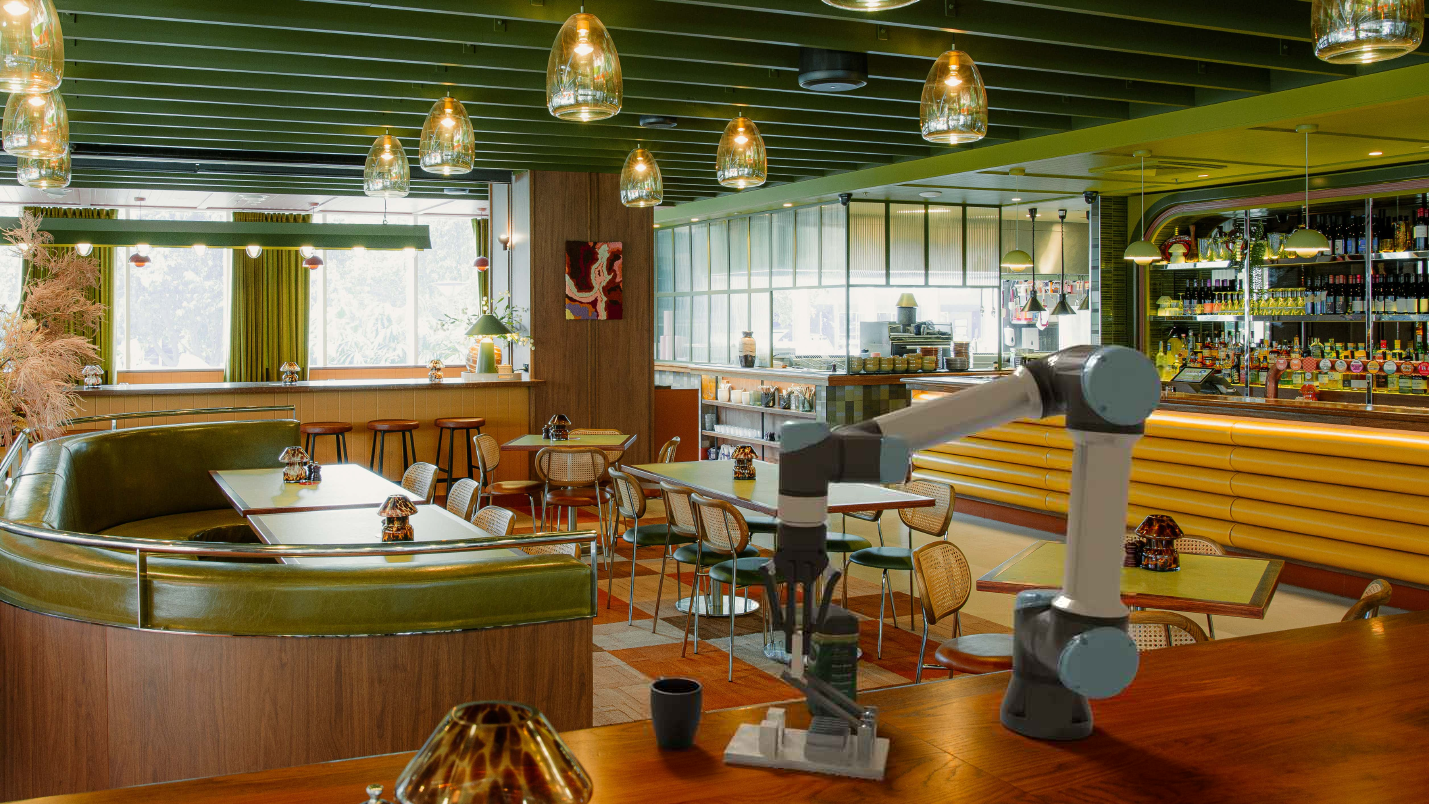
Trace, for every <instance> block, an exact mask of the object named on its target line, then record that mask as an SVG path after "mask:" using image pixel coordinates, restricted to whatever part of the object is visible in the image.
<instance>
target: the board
mask: <svg viewBox="0 0 1429 804" xmlns="http://www.w3.org/2000/svg"><path fill="white" fill-rule="evenodd" d="M863 708H864V709H866V710H868V709H871V710H873V711H874V712H875V714H866V713H862V717H861V718H859V721H861V722H862V723H865V722H867V723H869V724H870V725H871V727H872V729H871V728H867V727H858V730H857V735H855V734H851V732H852V731H851V729H852V728H850V725H849V724H848V723H846V722H845V721H843V720H842V719H837V718H827V717H817V716H814V715H813V718H812V720H811V722H810V724H809V726H808V729H807V730H806V729H796V728H790V727H789V728H787V727H786V726H785V725H786V708H778V707H772V706H770V707H769V709H768V710H767V711H766V719H763V720H762V721H761V723H760V724H752V723H740V725H739V727H738V728H737V730H736V732H735V734H734V736H733V737H732V738H731V740H730V742H729V743H728V745H727V747H726V749H725V750H724V752H723V763H727V764H736V765H737V764H738V765H744V766H754V767H762V766H763V767H762V768H769V767H773V768H772V769H778V768H786V769H785V770H787V769H795V770H805V771H811V772H810V773H813V772H821V773H826V774H825V775H830V774H835V775H834V776H839V775H841V776H840V777H847V776H850V777H849V778H856V777H858V778H859V779H865V778H866V779H867V780H873V779H876V780H875V781H884V775H885V770H886V765H887V761H888V756H889V751H890V738H884V737H877V720H878V719H877V717H878V707H877V706H871V705H864V706H863ZM795 770H794V771H795ZM821 773H820V774H821Z"/></svg>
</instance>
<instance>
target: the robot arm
mask: <svg viewBox="0 0 1429 804" xmlns="http://www.w3.org/2000/svg"><path fill="white" fill-rule="evenodd" d="M1161 379H1162V378H1161V376H1160V373H1159V370H1158V369H1157V367H1156V365H1155V364H1154V363H1153V362H1152V360H1151V359H1150V358H1149V357H1148V356H1147V355H1146V354H1144V353H1143V352H1142V351H1140V350H1137V349H1135V348H1130V347H1127V346H1124V345H1118V344H1104V345H1101V344H1099V345H1098V344H1095V345H1093V344H1092V345H1091V344H1078V345H1073V346H1072V345H1071V346H1069V347H1066V348H1063V349H1060V350H1058V351H1055V352H1053V353H1052V352H1051V353H1050V354H1048V355H1045V356H1042V357H1040V358H1037V359H1034V360H1032V361H1029V362H1027V363H1023V364H1020V365H1017V366H1016V367H1015V368H1014V369H1013V372H1012V374H1011V373H1010V374H1008V375H1004V376H1001V377H998V378H996V379H993V380H989V381H987V382H983V383H980V384H976V385H974V386H971V387H967V388H965V389H961V390H958V391H955V392H951V393H948V394H945V395H942V396H939V397H936V398H932V399H929V400H925V401H923V402H921V403H920V402H919V403H917V404H914V405H911V406H908V407H904V408H901V409H898V410H895V411H892V412H889V413H885V414H882V415H879V416H877V417H876V416H875V417H872V418H871V419H866V420H864V421H860V422H857V423H854V424H846V423H845V424H840V425H837V426H834V427H832V428H831V425H830V422H828V421H826V420H821V419H804V418H802V419H801V418H800V419H788V420H785V421H784V422H783V423H782V425H781V427H780V438H779V446H778V447H779V448H778V489H777V490H778V493H777V515H776V516H777V519H779V520H780V521H779V522H778V523H777V525H776V528H777V529H776V549H775V552H774V554H773V556H772V559H771V560H769V561H767V562H763V563H762V564H761V565H760V566H759V567H758V570H757V571H758V573H759V575H760V576H761V578H762V579H763V581H764V585H765V590H766V595H767V599H768V605H769V610H770V614H771V618H772V622H773V623H772V624H773V627H774V628H775V629H776V630H777V629H778V630H781V631H783V632H784V634H785V638H784V639H785V642H784V645H785V646H784V648H785V649H784V651H785V654H786V655H787V654H788V655H791V659H792V668H791V669H790V670H791V673H790V674H791V677H793V678H797V679H802V678H803V677H802V675H803V673H804V668H805V656H809V654H810V652H811V643H812V634H813V633H815V632H821V630H822V629H823V627H824V624H825V621H826V617H827V613H828V610H829V606H830V605H831V603H832V598H833V596H834V592H835V589H836V585H837V584H838V582H839V581H840V579H841V578H842V576H843V575H844V571H843V569H842V568H838V567H836V566H834V565H833V564H831V563H830V558H829V557H830V556H829V555H828V553H827V540H828V539H827V536H828V535H827V533H828V527H827V525H826V523H825V522H826V521H827V520H828V504H829V503H828V500H829V498H828V497H829V493H828V492H829V484H862V485H863V484H864V485H865V484H869V485H871V484H872V485H881V486H884V485H887V484H888V485H893V484H902V483H903V482H904V481H905V479H907V476H908V473H909V469H910V455H912V454H916V453H919V452H921V451H922V452H923V451H924V450H928V449H931V448H934V447H937V446H941V445H944V444H947V443H950V442H953V441H956V440H960V439H964V438H966V437H968V436H972V435H976V434H979V433H982V432H984V431H988V430H991V429H994V428H997V427H1001V426H1005V425H1007V424H1010V423H1014V422H1017V421H1019V420H1024V419H1026V418H1027V419H1029V420H1031V421H1034V422H1036V421H1041V420H1043V419H1047V418H1050V417H1056V416H1058V417H1059V416H1065V421H1064V422H1065V423H1064V430H1065V432H1066V433H1067V434H1068V435H1069V436H1070V437H1071V439H1072V440H1073V452H1072V464H1071V477H1070V489H1069V491H1070V492H1069V503H1068V514H1067V515H1068V517H1067V530H1066V542H1065V554H1064V568H1063V569H1064V570H1063V581H1062V589H1047V588H1045V589H1037V588H1035V589H1027V590H1022V591H1020V592H1018V593H1017V595H1016V597H1015V601H1014V603H1015V604H1014V608H1013V615H1014V616H1013V639H1012V641H1013V642H1012V643H1013V646H1012V647H1013V648H1012V672H1011V678H1010V681H1009V684H1008V686H1007V689H1006V691H1005V694H1004V696H1003V699H1002V701H1001V704H1000V710H999V711H1000V712H999V721H1000V723H1001V724H1002V725H1003V726H1004V727H1006V728H1007V729H1009V730H1011V731H1013V732H1015V733H1018V734H1022V735H1025V736H1027V737H1031V738H1036V739H1042V740H1048V741H1049V740H1050V741H1072V740H1074V741H1075V740H1080V739H1084V738H1086V737H1089V736H1090V735H1091V734H1092V733H1093V730H1094V729H1093V728H1094V717H1093V716H1094V715H1093V713H1092V709H1091V705H1090V702H1089V699H1094V700H1095V699H1096V700H1097V699H1098V700H1099V699H1106V698H1110V697H1113V696H1116V695H1118V694H1119V693H1121V691H1123V690H1124V689H1125V688H1127V687H1129V685H1130V684H1131V683H1132V682H1133V680H1134V678H1135V676H1136V675H1137V672H1138V669H1139V667H1140V665H1139V664H1140V653H1139V648H1138V646H1137V645H1136V643H1135V641H1134V639H1133V638H1132V637H1131V636H1130V634H1129V625H1130V609H1129V608H1128V607H1127V606H1126V605H1125V603H1124V602H1123V601H1122V599H1121V590H1122V579H1123V578H1122V577H1123V566H1124V553H1125V542H1126V531H1127V528H1126V527H1127V516H1128V508H1129V507H1128V505H1129V492H1130V480H1131V479H1130V478H1131V470H1132V469H1131V468H1132V456H1133V455H1132V454H1133V448H1134V445H1135V444H1136V443H1138V442H1139V441H1140V440H1141V439H1142V438H1143V437H1144V436H1145V429H1146V419H1147V420H1148V419H1149V418H1150V416H1151V415H1152V413H1153V412H1155V411H1156V409H1157V407H1158V406H1159V404H1160V401H1161V398H1162V392H1163V391H1162V390H1163V387H1162V386H1163V385H1162V380H1161ZM776 569H777V570H778V571H779V573H780V574H781V576H782V577H783V579H784V580H785V581H786V583H785V589H786V590H785V591H786V596H785V598H786V600H785V617H784V614H783V608H782V603H781V600H780V595H779V589H778V585H777V580H776V579H777V578H776V576H775V574H776V571H777V570H776ZM824 571H826V572H825V573H826V574H825V578H826V580H827V583H826V584H825V588H824V591H823V596H822V597H821V602H820V604H819V605H820V609H819V612H818V616H817V619H816V622H815V623H813V608H814V587H815V582H816V581H817V580H818V579H819V577H820V576H821V575H822V574H823V572H824ZM799 583H800V584H802V624H801V625H802V626H801V629H802V630H796V628H797V621H796V620H797V593H798V584H799Z"/></svg>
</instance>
